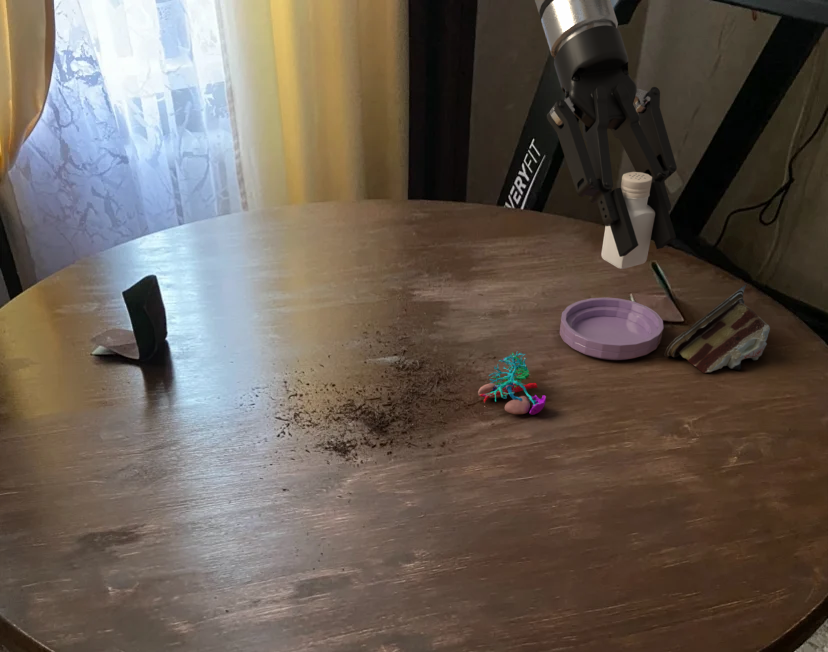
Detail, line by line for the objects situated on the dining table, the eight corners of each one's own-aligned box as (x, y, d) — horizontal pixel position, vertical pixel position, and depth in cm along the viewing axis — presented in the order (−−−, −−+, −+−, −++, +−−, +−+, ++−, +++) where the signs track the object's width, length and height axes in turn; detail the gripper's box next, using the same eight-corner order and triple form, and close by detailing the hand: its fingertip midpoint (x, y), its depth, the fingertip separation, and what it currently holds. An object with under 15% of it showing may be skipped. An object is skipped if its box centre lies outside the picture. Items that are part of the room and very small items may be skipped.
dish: (657, 319, 107) (661, 301, 106) (661, 368, 98) (665, 348, 97) (561, 312, 109) (563, 294, 107) (556, 359, 100) (558, 340, 98)
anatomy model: (497, 394, 86) (554, 372, 87) (461, 359, 91) (515, 339, 93) (500, 435, 89) (555, 412, 91) (465, 399, 95) (517, 378, 96)
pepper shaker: (620, 272, 94) (634, 185, 88) (598, 259, 97) (610, 174, 91) (648, 264, 96) (664, 179, 90) (625, 252, 98) (639, 168, 92)
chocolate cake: (703, 390, 95) (787, 310, 92) (660, 350, 98) (741, 271, 95) (715, 409, 104) (794, 337, 100) (676, 372, 106) (751, 301, 103)
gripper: (633, 58, 98) (691, 248, 98) (502, 74, 93) (564, 275, 93) (669, 14, 91) (733, 218, 91) (531, 28, 86) (597, 246, 86)
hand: (647, 246), depth 92 cm, fingers closed on pepper shaker, 4 cm apart
